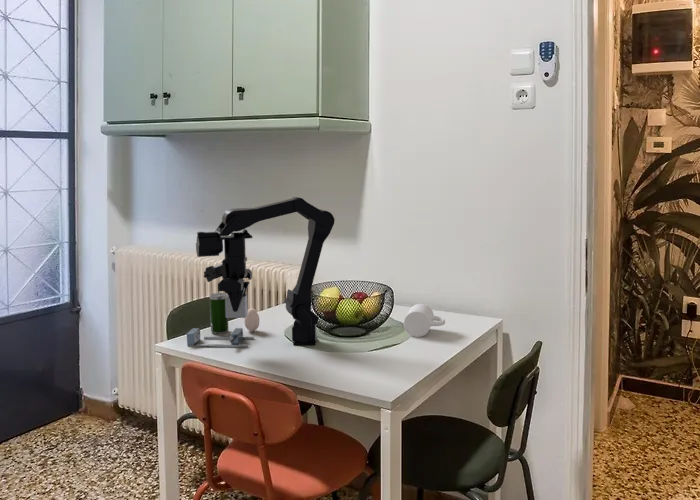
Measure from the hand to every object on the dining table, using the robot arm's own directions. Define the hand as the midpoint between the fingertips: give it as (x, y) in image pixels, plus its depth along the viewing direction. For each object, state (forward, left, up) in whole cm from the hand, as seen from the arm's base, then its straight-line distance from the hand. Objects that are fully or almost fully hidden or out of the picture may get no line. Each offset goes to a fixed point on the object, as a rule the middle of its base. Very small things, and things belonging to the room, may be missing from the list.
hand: (236, 309), depth 182 cm
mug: (-54, -18, -12) cm, 58 cm away
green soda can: (+10, -18, -12) cm, 24 cm away
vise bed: (+8, -7, -12) cm, 16 cm away
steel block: (0, 0, -2) cm, 2 cm away
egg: (0, -19, -12) cm, 23 cm away
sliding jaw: (+2, -5, -11) cm, 13 cm away
